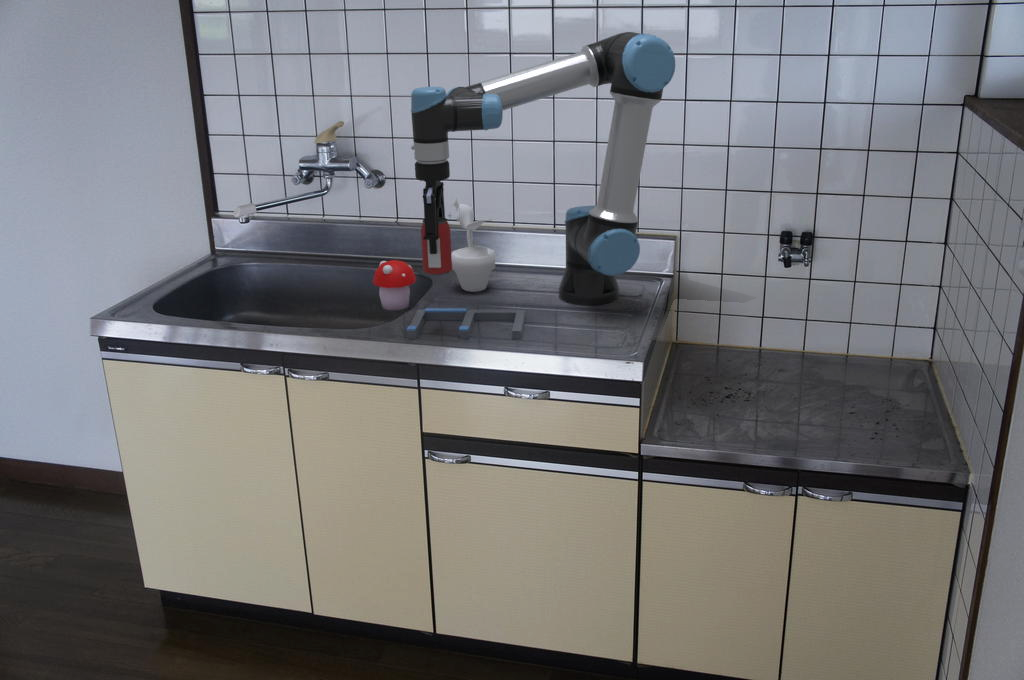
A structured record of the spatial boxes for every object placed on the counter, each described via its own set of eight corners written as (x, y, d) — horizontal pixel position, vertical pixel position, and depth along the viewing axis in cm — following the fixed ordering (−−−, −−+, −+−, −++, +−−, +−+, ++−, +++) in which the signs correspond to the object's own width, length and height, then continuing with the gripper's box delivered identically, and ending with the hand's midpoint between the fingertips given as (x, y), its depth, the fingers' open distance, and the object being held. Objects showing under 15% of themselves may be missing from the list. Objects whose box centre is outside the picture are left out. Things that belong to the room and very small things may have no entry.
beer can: (454, 267, 223) (451, 216, 218) (449, 275, 217) (447, 223, 212) (426, 267, 223) (423, 216, 219) (420, 275, 217) (417, 223, 213)
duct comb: (525, 317, 232) (525, 308, 232) (521, 339, 219) (520, 329, 218) (418, 317, 235) (417, 308, 234) (407, 338, 221) (406, 328, 220)
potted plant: (443, 289, 255) (438, 195, 246) (476, 279, 262) (473, 188, 253) (474, 299, 246) (470, 202, 237) (508, 289, 253) (505, 194, 245)
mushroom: (392, 296, 250) (388, 251, 246) (426, 303, 245) (424, 257, 240) (366, 309, 242) (362, 262, 237) (401, 315, 236) (398, 268, 232)
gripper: (422, 152, 220) (428, 250, 229) (406, 169, 202) (413, 275, 211) (455, 152, 220) (459, 250, 228) (442, 169, 202) (447, 275, 210)
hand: (437, 262), depth 219 cm, fingers closed on beer can, 7 cm apart
